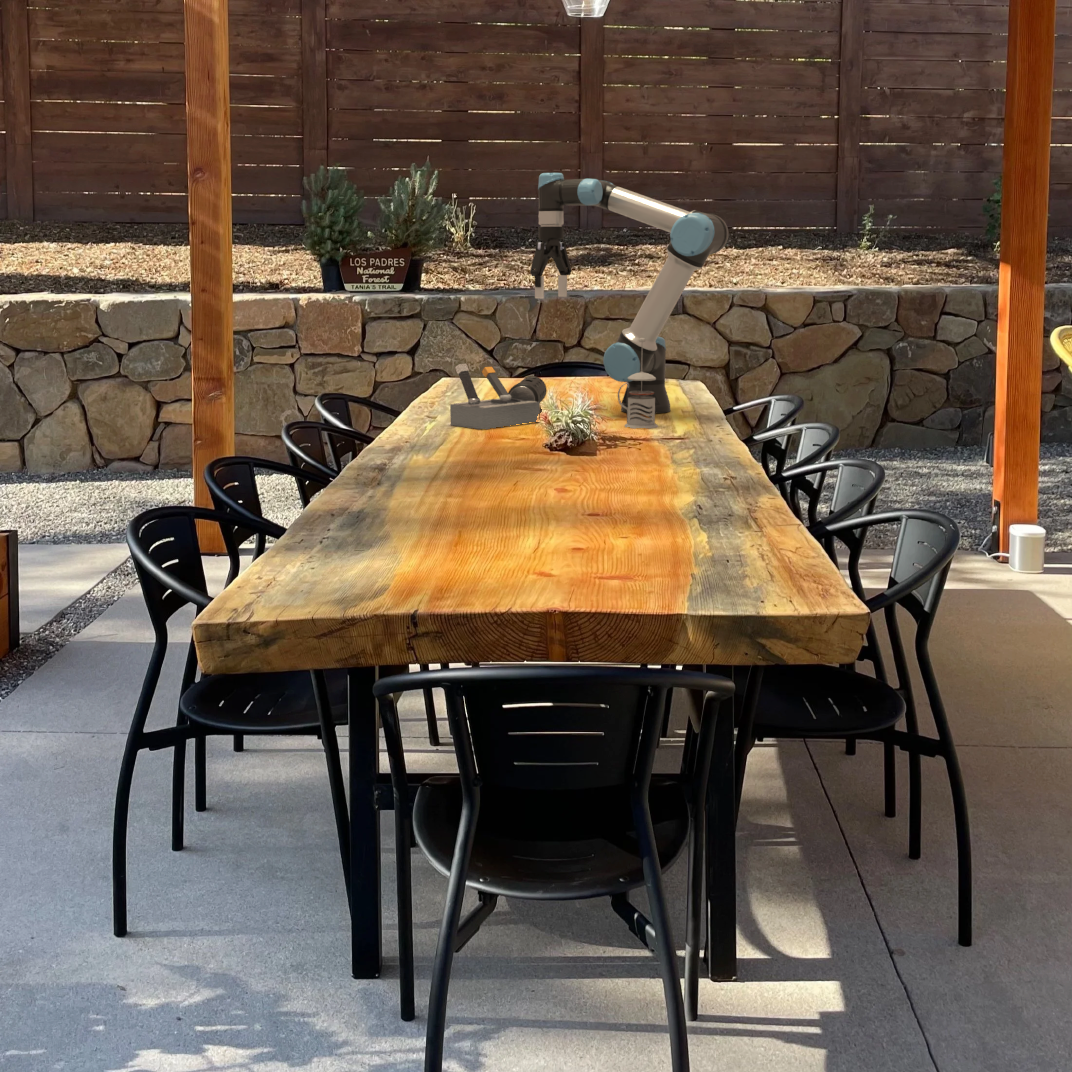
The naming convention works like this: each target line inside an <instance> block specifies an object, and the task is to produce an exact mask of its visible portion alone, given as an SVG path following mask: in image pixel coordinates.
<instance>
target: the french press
mask: <svg viewBox="0 0 1072 1072" xmlns="http://www.w3.org/2000/svg"><path fill="white" fill-rule="evenodd" d="M639 342H645V339H644V338H640V339H639ZM628 380H634V381H641V391H631V392H629V394H631V395H652V394H654V392H652V391H642V381H653V380H656V378H655V377H654V376H653V375H651V374H648V373H644V372H642V365H641V372H640V373H635V374H633V375H631V376H629V377H628ZM625 385H626V388H627V387H628V388H629V383H628V382H624V383H623V384H622V385H621V386H620V387H619V389H618V390H617V391H618V392H617V400H618V403H619V406H622V405H623V404H622V400H621V399H620V398H621V396H620V392H621V389H622V388H623V387H624V386H625ZM633 403H634V404H633ZM639 404H640V405H644V406H646V407H648V408H650V409H646V408H644V407H641V406H638V405H639ZM623 406H624V405H623ZM623 406H622V407H623ZM651 406H652V407H651ZM623 408H625V406H624V407H623ZM625 409H627V412H626V423H625V424H624V425H623V427H624V426H625V427H624V428H627V427H630V428H629V429H636V428H646V429H645V430H647V428H648V429H656V428H659V425H658V424H657V423H656V422H655V421H656V413H655V397H650V396H633V397H628V408H627V407H626V408H625ZM636 409H642V410H645V411H647V412H649V413H651V414H647V413H645V412H643V411H640V410H636ZM633 412H634V413H633Z"/></svg>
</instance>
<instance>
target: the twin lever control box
mask: <svg viewBox="0 0 1072 1072" xmlns="http://www.w3.org/2000/svg"><path fill="white" fill-rule="evenodd" d="M454 368H455V371H456V373H457V375H458V377H459V379H460V382H461V384H462V386H463V389H464V392H465V394H466V397H467V401H463V402H455V403H450V404H449V405H450V411H449V412H450V416H449V417H450V426H453V427H460V428H466V427H467V428H469V429H473V428H474V429H475V430H480V429H486V430H491V429H490V428H494V429H497V428H496V427H501V428H504V427H503V426H509V427H511V426H510V425H516V424H522V423H529V422H536V420H537V416H538V414H539V413H541V412H540V411H541V408H540V407H541V402H536V401H527V400H520V399H513V398H511V400H510V401H505V400H500V398H499V397H498V398H491V399H483V400H482V399H480V397H478V394H477V391H476V387H475V386H474V383H473V380H472V377H471V375H470V373H469V371H470V370H469V366H468V363H459V364H457V365H456V366H454ZM474 429H473V430H474Z"/></svg>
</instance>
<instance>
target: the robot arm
mask: <svg viewBox="0 0 1072 1072" xmlns="http://www.w3.org/2000/svg"><path fill="white" fill-rule="evenodd" d="M537 191H538V216H537V217H538V225H540V226H539V227H538V239H539V240H542V242H541V241H540V242H536V243H535V251H534V254H533V255H534V256H533V258H532V262H531V266H530V269H529V273H530V275H531V277H534V299H542V300H543V299H545V276H543V274H544V271H545V269H546V267H547V265H548V262H549V260H550V259H553V261H554V262H553V263H554V264H555V266H556V268H557V271H558V273H559V275H557V278H558V279H557V296H558V298H567V297H568V276H570V275H571V273H572V268H571V263H570V259H569V255H568V251H567V243H566V242H564V241H562V242H561V241H560V240H563V239H564V227H563V225H564V224H565V223H564V221H565V220H564V206H586V207H587V206H590V207H598V208H601V209H603V210H607V211H610V212H613V213H616V214H618V215H622V216H624V217H626V218H629V219H633V220H635V221H638V222H640V223H643V224H646V225H648V226H651V227H654V228H657V229H659V230H661V231H665V232H668V233H670V234H669V236H670V242H669V243H668V245H667V247H666V252H667V255H668V256H667V258H666V260H665V262H664V263H663V265H662V268H661V269H660V271H659V273H658V275H657V277H656V279H655V280H654V282H653V284H652V286H651V288H650V289H649V291H648V293H647V295H646V297H645V299H644V300H643V303H642V304H641V306H640V308H639V310H638V312H637V314H636V315H635V317H634V319H633V321H632V323H631V325H630V326H629V327H627V328H624V329H622V331H621V332H620V334H619V335H618V338H617V340H616V342H615V343H612V344H611V345H610V346H609V347H607V349H606V350H605V351H604V355H603V362H602V363H603V366H604V369H605V372H606V374H607V375H608V377H610V378H611V379H612V380H614V381H616V382H620V383H627V382H628V383H629V388H628V387H627V386H626V387H625V388H626V389H625V391H624V394H623V397H622V400H621V403H622V404H623V405H624V406H625V408H626V407H627V408H628V397H633V396H650V397H655V414H663V413H665V414H666V413H669V412H671V403H670V398H669V395H668V391H667V389H666V383H665V382H666V354H667V353H666V351H667V348H666V340H665V338H664V337H661V336H660V334H661V332H662V330H663V328H664V327H665V326H666V325H665V324H666V323H667V321H668V319H669V318H670V316H671V314H672V312H673V310H674V308H675V307H676V305H677V303H678V301H679V300H680V297H681V295H682V294H683V292H684V291H685V289H686V287H687V285H688V283H689V281H690V280H691V277H692V276H693V274H694V272H695V271H697V270H698V271H699V270H701V269H702V268H703V266H704V265H705V263H706V262H707V259H708V258H709V256H710V255H713V254H716V253H718V252H720V251H721V250H722V249H724V247H725V246H726V245H727V242H728V239H729V229H728V226H727V223H726V222H725V220H724V219H723V218H721V217H720V216H718V215H716V214H713V213H706V212H703V211H702V212H701V211H699V210H696V209H694V210H691V211H688V210H685V209H683V208H680V207H677V206H674V205H672V204H669V203H666V202H663V201H660V200H657V199H655V198H651V197H649V196H646V195H643V194H640V193H638V192H636V191H635V192H634V191H632V190H629V189H626V188H623V187H620V186H617V185H615V184H614V183H613V182H610V181H607V180H605V179H604V180H599V179H597V178H576V179H575V178H574V179H565V177H564V174H563V173H562V172H543V173H540V175H539V176H538V186H537ZM640 338H644V339H645V342H639V339H640ZM641 365H642V372H644V373H648V374H651V375H653V376H654V377H655V378H656V380H653V381H642V391H652V392H654V394H652V395H631V394H629V392H631V391H641V381H634V380H628V377H629V376H631V375H633V374H635V373H640V372H641ZM633 404H634V403H633ZM623 405H622V406H623ZM620 406H621V405H620ZM622 406H621V407H620V408H621V409H620V410H621V412H623V413H627V409H625V408H623V407H624V406H623V407H622ZM638 406H641V407H644V408H646V409H650V408H648V407H646V406H644V405H640V404H639V405H638ZM651 407H652V406H651ZM636 410H640V411H643V412H645V413H647V414H651V413H649V412H647V411H645V410H642V409H636ZM633 413H634V412H633Z"/></svg>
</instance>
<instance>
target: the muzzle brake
mask: <svg viewBox="0 0 1072 1072" xmlns="http://www.w3.org/2000/svg"><path fill="white" fill-rule="evenodd" d="M547 390H548V389H547V385H546V383H545V381H543V378H542V379H541V377H538V376H535V375H530V376H527V377H524V378H523V379H522V380H520V382H518V383H516V384H514V385H513V386H512V387H511V388H510V389H509V391H507V392H508V394H510V395H511V398H513V399H520V400H527V401H536V402H540V403H542V401H544V399H545V397H546V396H547Z"/></svg>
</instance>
